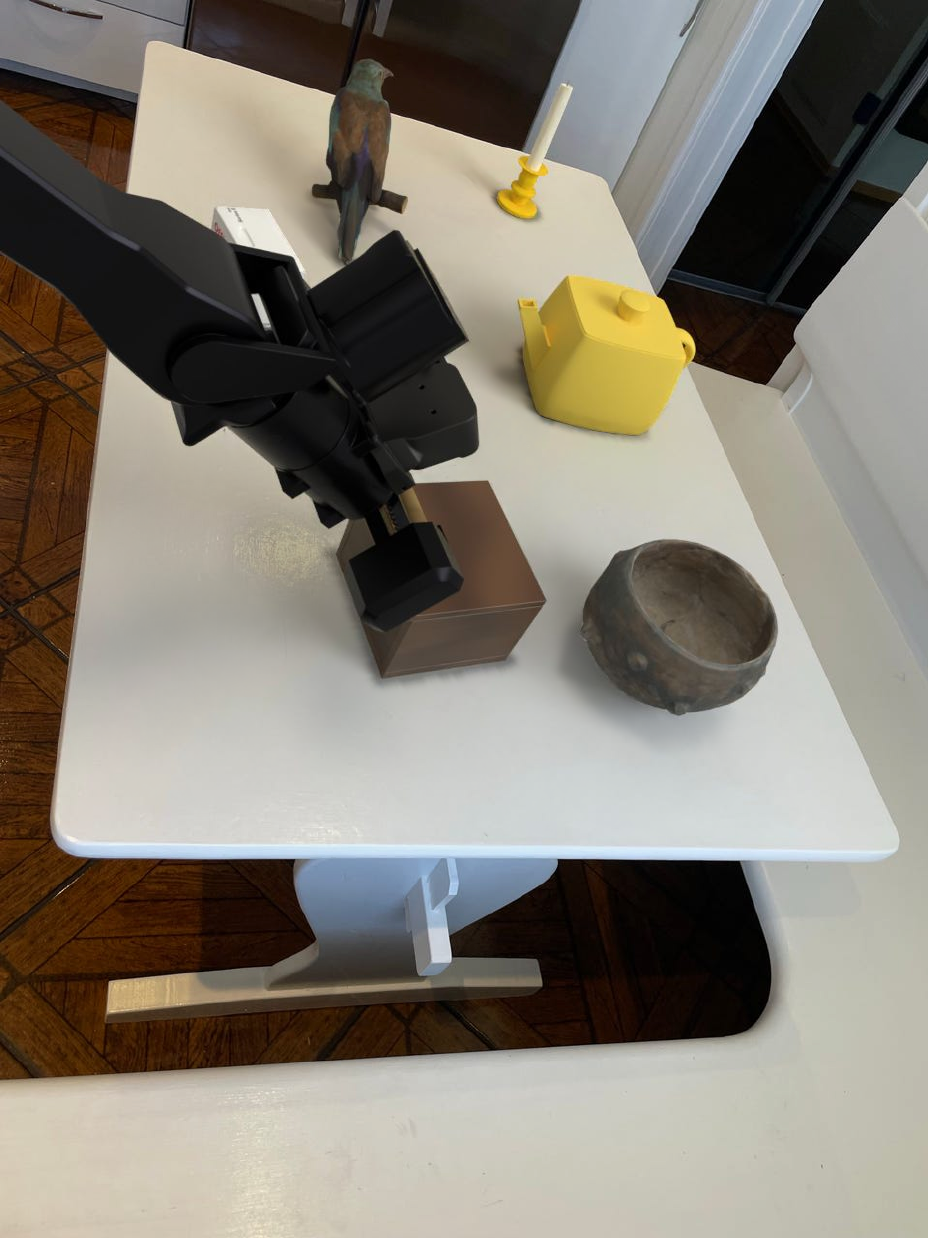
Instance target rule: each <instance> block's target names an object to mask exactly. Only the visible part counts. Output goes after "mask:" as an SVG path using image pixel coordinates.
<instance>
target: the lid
mask: <svg viewBox="0 0 928 1238" xmlns="http://www.w3.org/2000/svg"><path fill="white" fill-rule="evenodd" d="M415 484H416V485H415V486H413V487H412V488H410V489H408V490H407V491H405V492H403V493H402V494H400V498H401V500H402V502H403V505H404V507H405V509H406V512H407V514H408V516H409V519H410V521H411V523H416V522H433V523H434V524H435V525H436V526H438V525H441V527H442V530H443V532H444V534H445V536H446V539H447V541H448V543H449V545H450V548H451V550H452V552H453V554H454V557H455V559H456V561H457V563H458V566H459V568H460V570H461V572H462V575H463V577H464V581H463V584H462V586H461V589H460V591H459V592H457V593H455V594H454V595H452V596H450V597H448V598H447V599H445V600H443V601H441V602H440V603H438V604H436V605H434V606H432V607H431V608H429V609H427V610H425V611H424V612H422V613H420V614H418V615H416V616H415V617H413V618H411V619H409V620H408V621H406V622H409V621H417V620H425V619H434V618H442V617H451V616H459V615H467V614H476V613H484V612H493V611H501V610H509V609H518V608H526V607H534V606H543V607H544V606H545V604H546V603H547V602H548V600H547V598H546V596H545V594H544V592H543V590H542V588H541V585H540V584H539V582H538V580H537V577H536V575H535V573H534V571H533V569H532V566H531V565H530V562H529V561H528V559H527V557H526V554H525V553H524V550H523V549H522V547H521V544H520V543H519V540H518V538H517V537H516V534H515V532H514V530H513V528H512V526H511V524H510V522H509V519H508V518H507V516H506V514H505V512H504V509H503V508H502V506H501V504H500V501H499V499H498V498H497V495H496V493H495V491H494V489H493V487H492V485H491V483H490V481H489V480H487V479H486V480H463V481H462V480H461V481H459V480H458V481H438V482H437V481H436V482H415ZM384 506H385V509H386V507H387V506H386V505H384ZM386 511H387V513H388V512H389V511H388V510H387V509H386ZM388 516H389V518H390V517H391V516H390V515H389V514H388ZM363 519H364V522H365V524H366V527H367V529H368V532H369V534H370V537H371V539H372V542H373V545H375V542H374V540H373V537H372V535H371V532H370V530H369V527H368V525H367V522H366V520H365V518H363ZM390 521H391V523H392V522H393V521H392V520H391V519H390ZM392 526H393V528H394V527H395V526H394V525H393V524H392ZM394 530H395V529H394ZM396 532H397V531H396V530H395V533H396Z"/></svg>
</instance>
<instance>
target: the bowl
mask: <svg viewBox="0 0 928 1238" xmlns="http://www.w3.org/2000/svg"><path fill="white" fill-rule="evenodd" d="M777 617H778V616H777V614H776V610H775V606H774V604H773V603H772V600H771V598H770V596H769V594H768V593H767V592H766V591H765V590H763V588H762V587H761V586H760V584H759V583H758V581H757V580H756V578H755V577H754V576H753V574H752V573H751V572H749V571H748V570H747V569H746V568H745V567H743V565H741V564H740V563H738V562H737V561H735V560H734V559H732V558H731V557H730V556H728V555H725V554H724V553H722V552H721V551H719V550H717V549H714V548H712V547H710V546H707V545H705V544H702V543H699V542H695V541H691V540H684V539H676V538H675V539H674V538H672V539H671V538H670V539H668V538H662V539H655V540H650V541H648V542H644V543H642V544H639V545H637V546H634V547H632V548H629V549H625V550H624V549H623V550H619V551H617V552H615V553H614V554H613V556H612V558H611V559H610V562H609V564H607V566H606V567H605V569H604V570H603V572H602V573H601V575H599V577H598V578H597V580H596V581H595V583H594V584H593V586H592V587H591V588H590V590H589V593H588V594H587V596H586V598H585V601H584V604H583V607H582V615H581V618H582V619H581V620H582V624H581V626H580V628H579V636H580V637H581V638H582V639H583V640H584V641H585V643H586V645H587V649H588V650H589V653H590V654H591V656H592V657H593V659H594V661H595V663H596V664H597V666H598V667H599V668H600V670H601V671H602V672H603V674H604V675H605V676H606V678H607V679H608V680H609V682H610V683H612V685H613V686H614V687H615V688H616V689H617V690H619V691H620V692H622V693H624V694H625V695H627V696H628V697H630V698H631V699H632V698H633V699H634V700H636V701H637V702H639V703H642V704H643V705H645V706H649V707H652V708H656V709H660V710H666V711H667V712H669V713H670V714H671V715H675V716H677V717H680V716H683V715H686V714H687V713H699V712H706V711H711V710H714V709H716V708H717V709H718V708H721V707H725V706H728V705H730V704H734V702H737V701H739V700H741V699H742V698H744V697H745V696H746V695H747V694H748V693H750V691H752V689H754V687H756V685H757V684H758V683H759V681H760V679H762V677H764V676H765V675H766V673H767V666H768V664H769V662H770V659H771V657H772V654H773V652H774V650H775V647H776V644H777V639H778V634H779V623H778V622H779V621H778V618H777Z"/></svg>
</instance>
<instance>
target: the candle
mask: <svg viewBox="0 0 928 1238" xmlns="http://www.w3.org/2000/svg"><path fill="white" fill-rule="evenodd" d="M569 83H570V80H568V82H567V83H562V82H561V83H560V85H559V87H558V89H557V91H556V93H555V95H554V98H553V100H552V102H551V105H550V107H549V110H548V112H547V113H546V116H545V118H544V121H543V123H542V126H541V128H540V130H539V133H538V135H537V137H536V139H535V142H534V145H533V147H532V149H531V152H530V154H529V156H528V155H522V156H519V157H518V159H517V162H518V164H519V166H520V167H521V172H520V173H519V174H518V178H517V179H514V180H513V181H511V183H510V188H511V189H502V190H500V191H499V192H498V193H497V195H496V201H497V203H498V204H499V206H500V207H501V208H502V209H503V210H504V211H505V212H507V213H508V214H510V215H512V216H514V217H516V218H519V219H532V218H535V216H536V214H537V211H538V208H537V205H536V204H535V202H534V201H533V200H532V199H534V198H535V197H536V193H537V192H536V189H535V188H534V187H535V186H536V184H537V182H538V178H539V177H545V176H547V175H548V174H549V170H548V167H547V166H546V165H545V164H544V163H543V162H544V160H545V157H546V155H547V152H548V150H549V148H550V146H551V143H552V140H553V139H554V137H555V134H556V131H557V129H558V126H559V125H560V122H561V119H562V117H563V114H564V112H565V110H566V107H567V105H568V103H569V101H570V98H571V95H572V92H573V90H574V87H573V86H571V85H570V84H569Z"/></svg>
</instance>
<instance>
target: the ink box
mask: <svg viewBox="0 0 928 1238" xmlns="http://www.w3.org/2000/svg"><path fill="white" fill-rule="evenodd" d="M212 213H213V214H212V221H211V227H210V229H211V230H213V231H214V232H216V233H217V234H219V235H220V236H222V237H223V238H224V239H225V240H226V241H227V242H229V243H234V244H238V245H243V246H247V247H252V248H257V249H261V250H266V251H270V252H275V253H280V254H284V255H289V256H292V257H293V258H294V259H295V261H296V263H297V266H298V268H299V271H300V273H301V275H302V278H303V279H304V280H305V278H306V275H307V270H306V269H305V267H304V266H303V264H302V262H301V260H300V259H299V257H298V255H297V254H296V252H295V250H294V249H293V247H292V246H291V244H290V242H289V241H288V239H287V238H286V236H285V234H284V233H283V230H282V229H281V228H280V226H279V224H278V222H277V221H276V220H275V218H274V216H273V215H272V213H271V211H270V210H269V208H266V207H265V208H264V207H242V206H230V205H228V206H227V205H218V206H215V207H214V208H213V212H212ZM251 295H252V297H253V300H254V303H255V305H256V308H257V311H258V313H259V316H260V319H261V321H262V324H263V326H264V329H265V331H266V330H272V328H271V325H270V322H269V320H268V317H267V314H266V312H265V309H264V307H263V304H262V301H261V299H260V296H259V294H251Z"/></svg>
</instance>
